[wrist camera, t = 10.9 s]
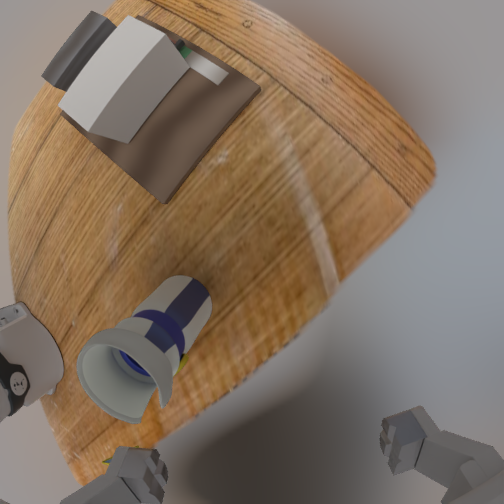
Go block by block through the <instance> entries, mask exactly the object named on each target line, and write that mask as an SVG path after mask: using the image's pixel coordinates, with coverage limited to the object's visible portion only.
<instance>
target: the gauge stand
mask: <svg viewBox="0 0 504 504" xmlns="http://www.w3.org/2000/svg"><path fill="white" fill-rule="evenodd" d="M135 19H137V20H139V21H141V22H143V23H145V24H147V25H149V26H151V27H153V28H155V29H157V30H159V31H161V32H163V33H165V34H166V35H167V36H168V38H169V39H170V40H171V41H172V42H173V43H174V44H175V43H176V42H177V41H178V40H179V39H182V40H183V41H184V43H185V45H184V46H183V47H182V48H181V49H180V50H179V53H180V54H181V56H182V57H183V58H184V60H185V61H186V63H187V64H188V65H189V67H190V68H189V69H188V70H187V71H186V72H185V73H184V74H183V75H182V77H181V78H180V79H179V80H178V81H177V82H176V83H175V85H174V86H173V87H172V88H171V89H170V90H169V92H168V93H167V94H166V95H165V96H164V98H163V99H162V100H161V101H160V102H159V104H158V105H157V106H156V107H155V109H154V110H153V111H152V112H151V114H150V115H149V116H148V118H147V119H146V120H145V122H144V123H143V124H142V125H141V127H140V128H139V129H138V131H137V132H136V134H135V135H134V136H133V138H132V139H131V140H130V142H129V143H128V144H127V143H124V142H120V141H117V140H114V139H111V138H107V137H104V136H100V135H97V134H94V133H90V132H88V131H86V130H85V129H84V128H83V127H82V126H81V125H79V124H78V123H77V122H76V121H75V120H74V119H73V118H71V117H70V116H69V115H68V114H67V113H66V112H65V111H64V110H62V112H61V114H60V115H62V116H63V117H64V118H65V119H66V120H67V121H68V122H69V123H70V124H72V125H73V126H74V127H75V128H76V129H77V130H78V131H79V132H81V133H82V134H83V135H84V136H85V137H86V138H87V139H88V140H90V141H91V142H92V143H93V144H94V145H95V146H96V147H97V148H99V149H100V150H101V151H102V152H103V153H104V154H105V155H107V156H108V157H109V158H110V159H111V160H112V161H113V162H115V163H116V164H117V165H118V166H119V167H120V168H121V169H123V170H124V171H125V172H126V173H127V174H128V175H130V176H131V177H132V178H133V179H134V180H135V181H136V182H138V183H139V184H140V185H141V186H142V187H143V188H145V189H146V190H147V191H148V192H149V193H150V194H152V195H153V196H154V197H155V198H156V199H157V200H159V201H160V202H161V203H162V204H168V202H169V201H170V199H171V198H172V197H173V195H174V194H175V193H176V191H177V190H178V189H179V187H180V186H181V185H182V183H183V182H184V181H185V180H186V178H187V177H188V176H189V174H190V173H191V172H192V171H193V169H194V168H195V167H196V165H197V164H198V163H199V162H200V160H201V159H202V158H203V157H204V155H205V154H206V153H207V152H208V151H209V149H210V148H211V147H212V146H213V144H214V143H215V142H216V141H217V140H218V138H219V137H220V136H221V135H222V134H223V133H224V131H225V130H226V129H227V128H228V127H229V125H230V124H231V123H232V122H233V121H234V120H235V119H236V117H237V116H238V115H239V114H240V113H241V112H242V111H243V109H244V108H245V107H246V106H247V105H248V104H249V103H250V102H251V101H252V99H253V98H254V97H255V96H256V95H257V94H258V93H259V92H260V91H261V88H260V86H259V85H258V84H256V83H255V82H253V81H252V80H250V79H249V78H248V77H246V76H245V75H243V74H242V73H240V72H239V71H237V70H235V69H234V68H232V67H231V66H229V65H228V64H226V63H225V62H223V61H221V60H220V59H218V58H217V57H215V56H213V55H212V54H210V53H208V52H207V51H205V50H203V49H202V48H200V47H198V46H196V45H195V44H193V43H191V42H189V41H188V40H186V39H184V38H182V37H180V36H179V35H177V34H175V33H173V32H171V31H169V30H167V29H165V28H163V27H161V26H160V25H158V24H156V23H154V22H152V21H149V20H147V19H145V18H143V17H141V16H139V15H138V16H137V17H136V18H135ZM116 28H117V27H116V26H115V25H114V24H113V23H112V22H111V21H110V20H109V19H108V18H106V17H104V16H102V15H100V14H98V13H96V12H93V11H91V12H90V13H89V14H88V15H87V17H86V18H85V19H84V20H83V21H82V22H81V24H80V25H79V26H78V27H77V28H76V29H75V31H74V32H73V33H72V34H71V36H70V37H69V38H68V39H67V41H66V42H65V43H64V45H63V46H62V47H61V48H60V50H59V51H58V53H57V54H56V55H55V57H54V58H53V60H52V61H51V62H50V64H49V65H48V67H47V68H46V70H45V71H44V73H43V74H42V77H43V78H44V79H45V80H46V81H48V82H49V83H50V84H51V85H53V86H54V87H56V88H59V89H61V90H64V91H66V92H67V90H68V89H69V87H70V86H71V85H72V83H73V82H74V80H75V79H76V77H77V76H78V75H79V73H80V72H81V71H82V69H83V68H84V67H85V65H86V64H87V63H88V61H89V60H90V59H91V58H92V56H93V55H94V54H95V53H96V51H97V50H98V49H99V48H100V46H101V45H102V44H103V43H104V42H105V40H106V39H107V38H108V37H109V36H110V35H111V34H112V32H113V31H114V30H115V29H116Z"/></svg>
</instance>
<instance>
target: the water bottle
mask: <svg viewBox="0 0 504 504" xmlns="http://www.w3.org/2000/svg"><path fill="white" fill-rule="evenodd" d="M211 312H212V301H211V298H210V295H209V293H208V291H207V290H206V288H205V287H204V286H203V285H202V284H201V283H200V282H199V281H197V280H196V279H194V278H191V277H189V276H184V275H177V276H172V277H170V278H168V279H166V280H165V281H164V282H163V283H162V284H161V285H160V286H159V287H158V288H157V289H156V290H155V291H154V292H153V293H152V294H151V295H150V296H148V297H147V298H146V299H145V300H144V301H143V302H142V303H141V304H139V305H138V307H137V308H136V309H135V310H134V312H133V313H132V315H131V317H130V318H126V319H124V320H122V321H120V322H119V323H118V324H117V325H116V326H115V327H114V328H111V329H106V330H102V331H100V332H98V333H96V334H95V335H93V336H92V337H91V338H90V339H89V340H88V341H87V343H86V344H85V345H84V347H83V348H82V350H81V352H80V353H79V356H78V359H77V374H78V378H79V380H80V383H81V385H82V387H83V389H84V390H85V392H86V393H87V394H88V396H89V397H90V398H91V399H92V400H93V401H94V402H95V403H96V404H97V405H98V406H99V407H100V408H101V409H102V410H104V411H105V412H106V413H108V414H110V415H111V416H113V417H115V418H117V419H120V420H122V421H125V422H128V423H131V424H138V423H141V418H142V415H143V413H144V411H145V409H146V406H147V404H148V402H149V400H150V398H151V396H152V394H153V392H154V391H155V389H156V387H158V390H159V400H160V406H161V408H164V407H165V406H166V404H167V403H168V401H169V399H170V397H171V395H172V384H173V377H174V376H175V375H176V374H177V373H178V372H179V371H180V370H181V369H182V368H183V367H184V365H185V364H186V363H187V361H188V358H189V357H188V355H187V354H186V353H187V352H188V350H189V349H190V348H191V346H192V344H193V343H194V341H195V339H196V338H197V336H198V334H199V333H200V331H201V330H202V328H203V327H204V325H205V324H206V322H207V321H208V319H209V318H210V315H211ZM135 448H139V446H135ZM112 458H113V457H111V458H109V459H106V460H104V461H102V463H103V464H107V465H109V464H110V462H111V460H112Z"/></svg>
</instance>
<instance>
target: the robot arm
mask: <svg viewBox="0 0 504 504" xmlns="http://www.w3.org/2000/svg"><path fill="white" fill-rule="evenodd" d="M63 373H64V366H63V360H62V357H61V354H60V351H59V349H58V347H57V345H56V343H55V341H54V339H53V338H52V336H51V335H50V333H49V332H48V331H47V329H46V328H45V327H44V326H43V325H42V324H41V323H40V322H39V321H38V320H37V319H35V318H34V317H33V316H32V315H31V313H30V311H29V310H28V308H27V307H26V306H25V304H24V303H22V302H19V303H16V304H13V305H10V306H7V307H4V308H1V309H0V422H1V421H2V420H3V419H4V418H6V417H7V416H11V415H13V414H14V413H16V412H17V411H18V410H19V409H20V408H21V407H22V406H23V405H24V406H30V405H31V404H32V403H34V402H35V401H36V400H38V399H39V398H41V397H42V396H43V395H45V394H49V395H52V394H53V393H54V392H55V389H56V384H57V383H58V382H60V380H61V379H62V377H63ZM381 426H382V428H383V431H382V432H381V433H380V447H381V450H382V452H383V454H384V455H385V456H387V457H389V460H388V465H389V467H390V469H391V471H392V473H393V475H396V474H400V473H403V472H405V471H408V470H411V469H414V468H415V470H417V471H418V472H420V473H422V474H423V475H425V476H427V477H429V478H430V479H432V480H434V481H436V482H438V483H439V484H441V485H443V486H445V487H447V488H448V490H447V492H446V494H445V495H444V497H443V499H442V500H441V503H442V504H504V460H503V459H502V458H501V456H500V455H499V454H498V452H497V451H496V450H495V449H494V447H493V446H490V445H487V444H484V443H480V442H477V441H474V440H471V439H468V438H465V437H462V436H459V435H456V434H454V433H451V432H448V431H445V430H443V431H440V430H439V428H438V427H437V426H436V424H435V423H434V421H433V420H432V419H431V417H430V416H429V415H428V413H427V412H426V411H425V409H424V408H423V407H422V406H417V407H415V408H412V409H409V410H406V411H403V412H400V413H397V414H394V415H392V416H389V417H386V418H383V420H382V424H381ZM159 457H160V454H159V452H158V451H157V449H148V448H135V447H124V446H119V447H118V448H117V449H116V451H115V453H114V455H113V458H112V460H111V462H110V464H109V467H108V469H107V471H106V474H105V475H100V476H99V477H97V478H96V479H94V480H93V481H91V482H90V483H88V484H87V485H85V486H84V487H82V488H81V489H79V490H78V491H76V492H75V493H73V494H71V495H70V496H68V497H66V498H65V499H63V500H61V502H60V504H141V503H145V504H162V502H163V497H164V493H165V492H164V490H163V488H162V487H163V486H164V485H165V484H167V480H168V470H167V467H166V465H165V463H164V462H163V461H162V460H160V459H159ZM0 504H9V503H7V502H5V501H3V500H2V499H0Z"/></svg>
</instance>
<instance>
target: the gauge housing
mask: <svg viewBox="0 0 504 504" xmlns="http://www.w3.org/2000/svg"><path fill="white" fill-rule="evenodd" d="M184 45H185V43H184V41H183V40H182V39H179V40H178V41H177V42H176V43H175V44H174V43H173V42H172V41H171V40H170V39H169V38H168V36H167V35H166V34H165V33H163V32H161V31H159V30H157V29H155V28H153V27H151V26H149V25H147V24H145V23H143V22H141V21H139V20H137V19H135V18H133V17H131V16H129V15H128V16H127V17H126V18H125V19H124V20H123V21H122V22H121V24H120V25H119V26H118V27H117V28H116V29H115V30H114V31H113V32H112V34H111V35H110V36H109V37H108V38H107V39H106V40H105V42H104V43H103V44H102V45H101V46H100V48H99V49H98V50H97V51H96V53H95V54H94V55H93V56H92V58H91V59H90V60H89V61H88V63H87V64H86V65H85V67H84V68H83V69H82V71H81V72H80V73H79V75H78V76H77V77H76V79H75V80H74V82H73V83H72V85H71V86H70V87H69V89H68V90H67V92H66V93H65V95H64V96H63V98H62V99H61V101H60V103H59V104H58V106H59V107H60V108H61V109H62V110H64V111H65V112H66V113H67V114H68V115H69V116H70V117H71V118H73V119H74V120H75V121H76V122H77V123H78V124H79V125H81V126H82V127H83V128H84V129H85V130H86V131H88V132H90V133H94V134H97V135H100V136H104V137H107V138H111V139H114V140H117V141H120V142H124V143H127V144H128V143H129V142H130V140H131V139H132V138H133V136H134V135H135V134H136V132H137V131H138V129H139V128H140V127H141V125H142V124H143V123H144V122H145V120H146V119H147V118H148V116H149V115H150V114H151V112H152V111H153V110H154V109H155V107H156V106H157V105H158V104H159V102H160V101H161V100H162V99H163V98H164V96H165V95H166V94H167V93H168V92H169V90H170V89H171V88H172V87H173V86H174V85H175V83H176V82H177V81H178V80H179V79H180V78H181V77H182V75H183V74H184V73H185V72H186V71H187V70H188V69H189V68H190V67H189V65H188V64H187V63H186V61H185V60H184V58H183V57H182V56H181V54H180V53H179V50H180V49H181V48H182V47H183V46H184Z"/></svg>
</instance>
